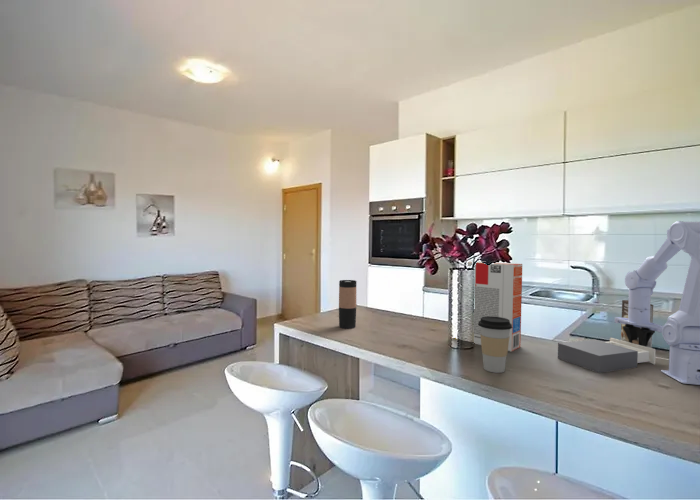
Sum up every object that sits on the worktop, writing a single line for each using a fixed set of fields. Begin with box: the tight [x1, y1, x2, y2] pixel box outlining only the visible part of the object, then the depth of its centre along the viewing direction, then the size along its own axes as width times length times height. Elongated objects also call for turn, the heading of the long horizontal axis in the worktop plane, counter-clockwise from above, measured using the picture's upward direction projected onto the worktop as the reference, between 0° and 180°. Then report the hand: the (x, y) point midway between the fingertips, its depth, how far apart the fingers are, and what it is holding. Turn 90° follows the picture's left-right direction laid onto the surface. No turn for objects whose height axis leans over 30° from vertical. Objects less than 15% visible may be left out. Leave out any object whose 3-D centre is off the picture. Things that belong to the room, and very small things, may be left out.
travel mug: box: [338, 279, 358, 330], centre depth 161 cm, size 8×8×20 cm
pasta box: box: [468, 260, 523, 352], centre depth 138 cm, size 23×8×30 cm, turn 46°
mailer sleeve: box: [557, 338, 638, 374], centre depth 117 cm, size 16×14×5 cm
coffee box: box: [620, 299, 654, 348], centre depth 137 cm, size 9×6×16 cm
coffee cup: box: [478, 316, 512, 374], centre depth 109 cm, size 9×9×15 cm
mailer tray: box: [605, 337, 656, 365], centre depth 120 cm, size 20×14×5 cm
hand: (637, 349), depth 123 cm, fingers closed on mailer tray, 2 cm apart
